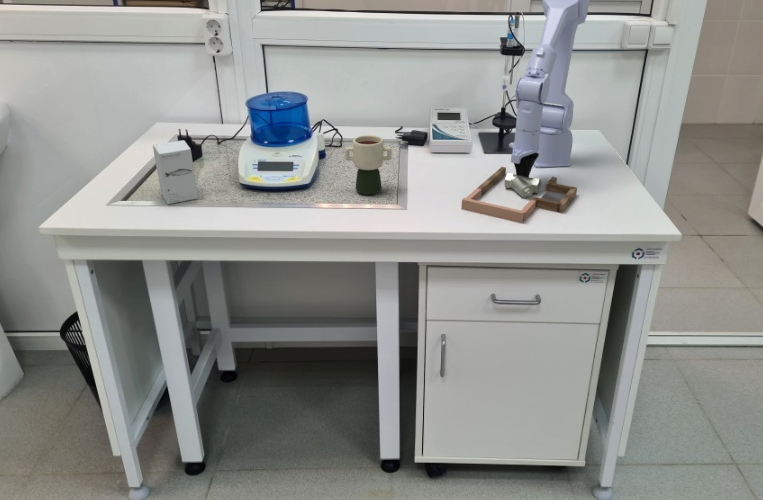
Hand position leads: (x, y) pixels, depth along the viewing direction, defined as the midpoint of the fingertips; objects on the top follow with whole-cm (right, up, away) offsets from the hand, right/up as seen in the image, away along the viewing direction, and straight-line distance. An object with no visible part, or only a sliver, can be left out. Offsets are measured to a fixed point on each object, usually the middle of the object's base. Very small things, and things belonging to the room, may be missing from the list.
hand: (522, 181), depth 156 cm
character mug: (-38, -3, -2) cm, 38 cm away
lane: (+1, -3, -3) cm, 5 cm away
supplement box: (-83, -4, -5) cm, 83 cm away
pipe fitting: (-1, -3, -3) cm, 5 cm away
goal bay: (-8, -7, -11) cm, 15 cm away
